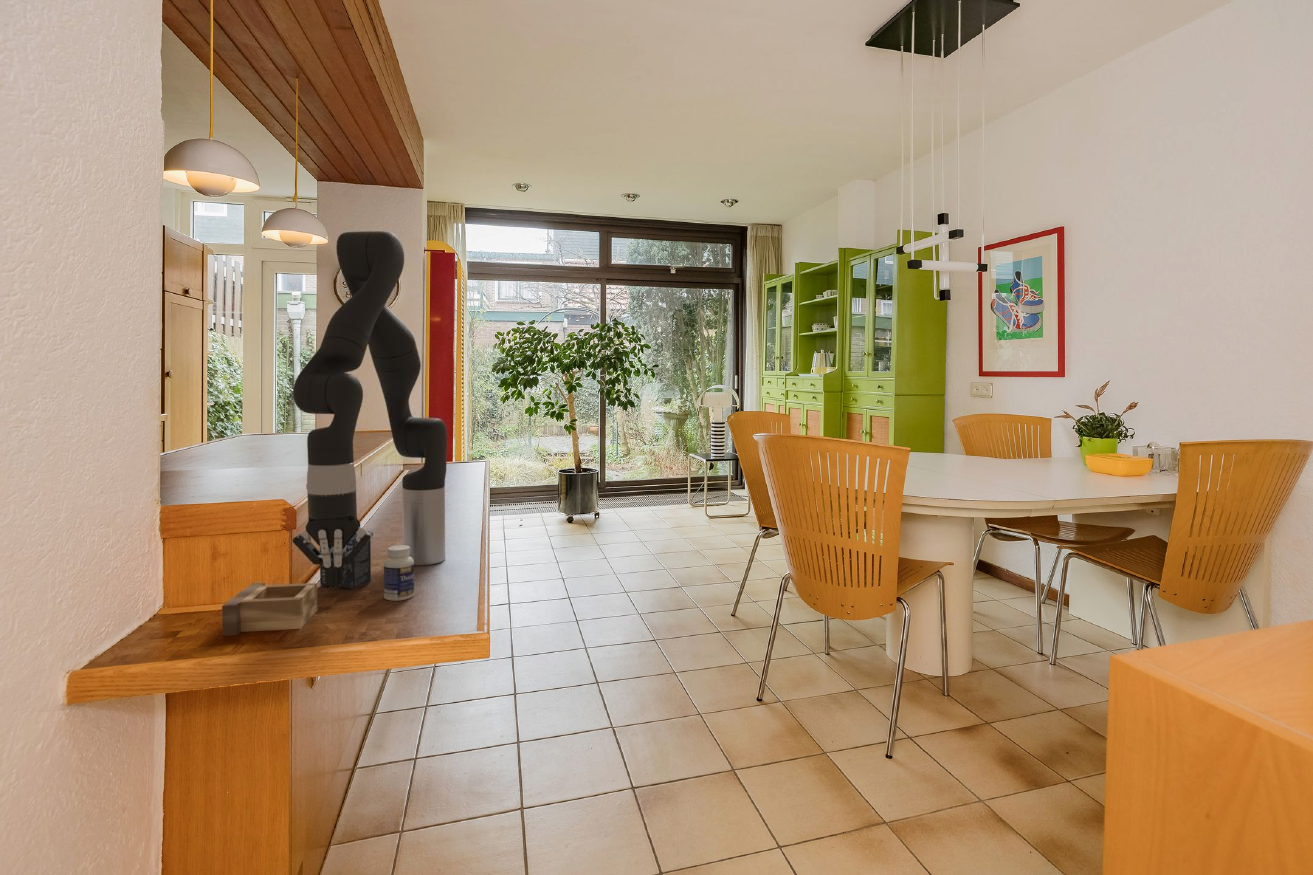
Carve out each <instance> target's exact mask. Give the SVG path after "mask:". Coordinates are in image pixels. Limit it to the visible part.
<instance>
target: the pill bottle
mask: <svg viewBox="0 0 1313 875" xmlns="http://www.w3.org/2000/svg"><path fill="white" fill-rule="evenodd" d="M409 554H410V547H409V546H407V545H403V544H398V545H391V546H388V547H387V556H388V558H386V559H385V560H384V561H383V596H384V599H385V600H388V601H392V602H395V601H397V602H398V601H405V600H408V599H410V598H412V597H413V596H414V595H415V569H414V568H415V565H414V560H413V558H412V557H410V556H409Z"/></svg>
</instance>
